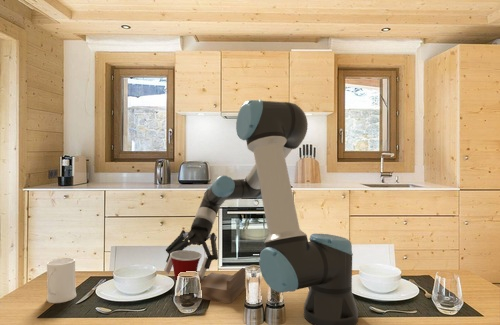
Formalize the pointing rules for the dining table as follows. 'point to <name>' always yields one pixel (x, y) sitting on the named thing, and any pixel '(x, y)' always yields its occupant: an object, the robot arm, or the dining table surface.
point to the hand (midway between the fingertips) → (183, 274)
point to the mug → (61, 280)
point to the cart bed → (223, 286)
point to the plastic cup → (184, 261)
